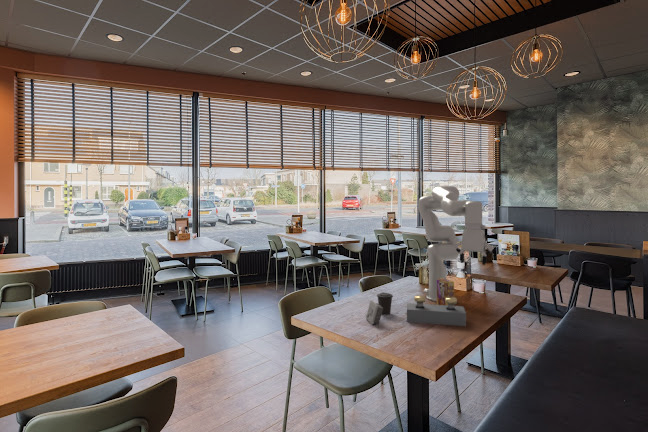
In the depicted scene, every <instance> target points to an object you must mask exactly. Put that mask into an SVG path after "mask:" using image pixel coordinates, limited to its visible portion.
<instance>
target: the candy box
mask: <svg viewBox="0 0 648 432" xmlns="http://www.w3.org/2000/svg"><path fill="white" fill-rule="evenodd" d="M446 297H455V281H453V280H449V279H447V278H446V279H444V278H439V279H437V301H436V305H446V306H448V303H446V302H445V298H446Z"/></svg>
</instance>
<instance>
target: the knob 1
mask: <svg viewBox="0 0 648 432" xmlns="http://www.w3.org/2000/svg"><path fill="white" fill-rule="evenodd" d="M414 302H416V304H417V308H423V304H424V303H426V295H421V294H420V295H418V294H417V295H414Z"/></svg>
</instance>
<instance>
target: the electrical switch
mask: <svg viewBox="0 0 648 432" xmlns="http://www.w3.org/2000/svg"><path fill="white" fill-rule="evenodd" d="M382 311H383V308H382V307H381V306H380V305H379V304H378V303H377V302H375V301H374V300H370V302H369V305H368V308H367V311H366V316H365V320H367V321H368V322H369V324H370V325H371V326H373V325H374V324H375V325H376V324H377V325H379V324H380V322H381V318H382Z"/></svg>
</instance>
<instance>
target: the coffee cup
mask: <svg viewBox="0 0 648 432" xmlns="http://www.w3.org/2000/svg"><path fill="white" fill-rule="evenodd" d="M376 297H377V301H378V304H379V305H380V306H381V307H382V308H383V311H382V314H381V316H388V315H391V312H392V301H393V297H394V296H393V294H391V293H389V292H380V293H377V294H376Z"/></svg>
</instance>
